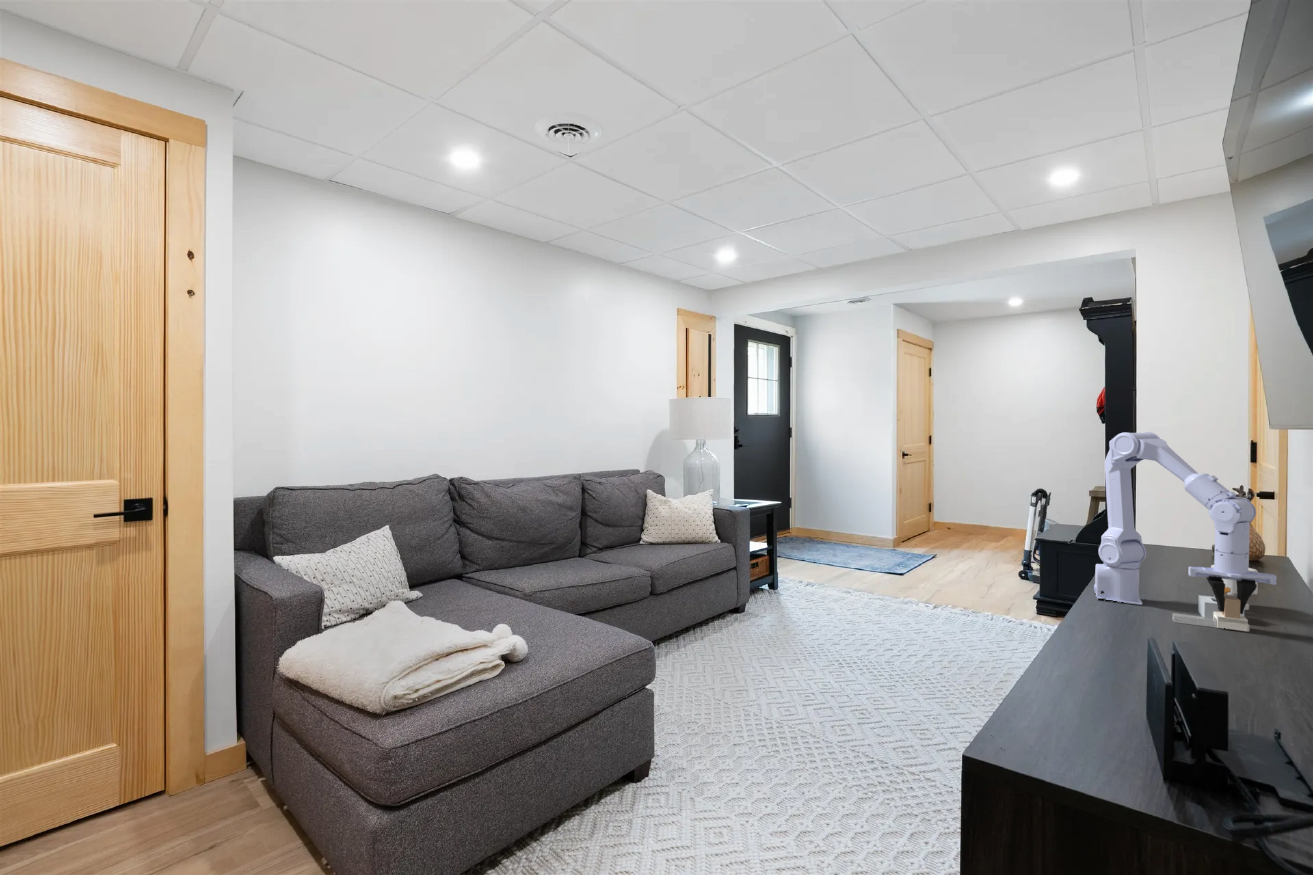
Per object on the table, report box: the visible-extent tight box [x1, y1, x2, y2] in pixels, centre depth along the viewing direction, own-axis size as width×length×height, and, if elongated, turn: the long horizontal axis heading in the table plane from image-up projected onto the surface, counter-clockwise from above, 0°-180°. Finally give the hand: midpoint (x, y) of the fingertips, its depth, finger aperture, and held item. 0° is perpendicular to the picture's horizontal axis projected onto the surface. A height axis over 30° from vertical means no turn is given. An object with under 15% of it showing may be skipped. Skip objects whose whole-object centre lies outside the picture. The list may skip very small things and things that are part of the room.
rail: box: [1171, 612, 1250, 633], centre depth 143 cm, size 13×2×2 cm, turn 58°
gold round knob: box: [1210, 587, 1231, 602], centre depth 149 cm, size 3×3×4 cm
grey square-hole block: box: [1197, 594, 1245, 618], centre depth 149 cm, size 7×7×4 cm
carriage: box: [1213, 595, 1249, 632], centre depth 141 cm, size 5×4×7 cm
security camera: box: [1210, 564, 1259, 611], centre depth 157 cm, size 6×7×10 cm
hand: (1230, 611), depth 141 cm, fingers closed on carriage, 2 cm apart
